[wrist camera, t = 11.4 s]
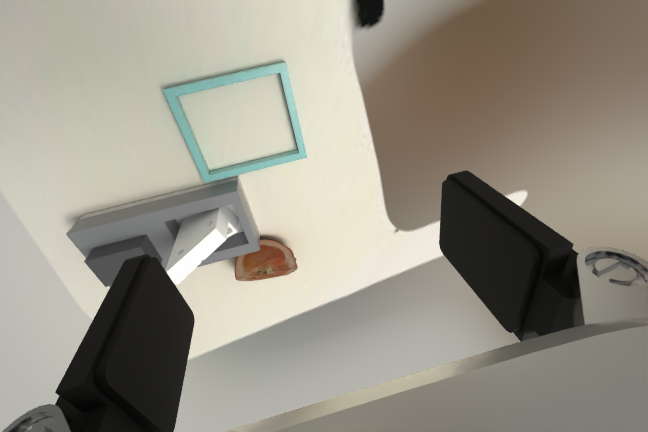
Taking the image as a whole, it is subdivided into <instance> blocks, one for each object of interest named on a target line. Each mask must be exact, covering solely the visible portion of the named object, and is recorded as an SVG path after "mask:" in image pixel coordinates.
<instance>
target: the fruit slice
mask: <svg viewBox="0 0 648 432" xmlns="http://www.w3.org/2000/svg"><path fill="white" fill-rule="evenodd" d="M295 260H296V258H295V257H294V254H293V252H292V250H291V249H290V248H288V247H287V246H285V245H283V244H282V243H280V242H277V241H273V240H267V239H265V240H260V250H259V251H256V252H252V253H248V254H244V255H241V256H237V259H236V262H235V278H236V280H239V281H254V280H262V279H267V278H273V277H278V276H284V275H288V274H290V273H292V272H294V271H295V270H296V269H297V264H296V261H295Z"/></svg>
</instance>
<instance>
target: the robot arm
mask: <svg viewBox="0 0 648 432" xmlns="http://www.w3.org/2000/svg"><path fill="white" fill-rule="evenodd" d="M441 200H442V201H441V219H440V240H439V245H440V249H441V251H442V253H443V254H444V256H445V257H446V258H447V259H448V260H449V262H450V263H451V264H452V265H453V266H454V268H455V269H456V270H457V271H458V273H460V275H461V276H462V277H463V279H464V280H465V281H466V282H467V284H468V285H469V286H470V287H471V288H472V289H473V291H474V292H475V293H476V294H477V296H478V297H479V298H480V299H481V300H482V302H483V303H484V304H485V305H486V307H487V308H488V309H489V310H490V311H491V313H492V314H493V315H494V316H495V318H496V319H497V320H498V321H499V322H500V324H501V325H502V326H503V327H504V328H505V329H506V330H507V331H508V332H510V333H512V332H513V333H514V334H515V335H516V336H517V337H518V339H519V340H520V341H521V342H519V343H515V344H512V345H508V346H504V347H501V348H498V349H495V350H491V351H488V352H484V353H481V354H478V355H474V356H471V357H468V358H464V359H461V360H458V361H454V362H451V363H448V364H444V365H441V366H438V367H434V368H431V369H428V370H424V371H421V372H418V373H414V374H411V375H408V376H404V377H401V378H398V379H395V380H391V381H388V382H385V383H382V384H378V385H375V386H372V387H369V388H365V389H362V390H359V391H355V392H352V393H349V394H345V395H342V396H339V397H336V398H332V399H329V400H326V401H323V402H319V403H316V404H313V405H309V406H306V407H303V408H300V409H296V410H293V411H290V412H287V413H284V414H280V415H277V416H274V417H271V418H267V419H264V420H261V421H258V422H255V423H251V424H248V425H245V426H242V427H238V428H235V429H232V430H229V431H226V432H648V262H647V261H646V260H644V259H642V258H640V257H639V256H637V255H635V254H632V253H629V252H626V251H624V250H620V249H615V248H610V247H592V248H588V249H585V250H582V251H581V252H580V253H579V254H578V253H577V252H576V251H574V250H573V249H572V247H573V243H571V242H570V241H568V240H567V239H565V238H564V237H563V236H561V235H560V234H558V233H557V232H555V231H554V230H553V229H551V228H550V227H548V226H547V225H545V224H544V223H542V222H541V221H539V220H538V219H536V218H535V217H534V216H532V215H531V214H529V213H528V212H527V211H525V210H524V209H522V208H521V207H519V206H518V205H517V204H515V203H514V202H512V201H511V200H509V199H508V198H506V197H505V196H503V195H502V194H501V193H499V192H498V191H496V190H495V189H493V188H492V187H490V186H489V185H488V184H486V183H485V182H483V181H482V180H481V179H479V178H478V177H476V176H475V175H473V174H472V173H470V172H469V171H462V172H458V173H454V174H451V175H448V177H447V179H446V180H445V181H444V182H443V183H442V199H441ZM193 327H194V315H193V312H192V310H191V309H190V307H189V306H188V304H187V303H186V301H185V300H184V298H183V297H182V295H181V294H180V292H179V291H178V289H177V288H176V286H175V284H174V283H173V281H172V280H171V278H170V277H169V275H168V274H167V272H166V271H165V269H164V268H163V266H162V265H161V263H160V262H159V260H158V259H157V258H156V257H151V256H149V255H148V254H144V255H141V256H137V257H133V258H129V259H126V260H125V261H124V263H123V264H122V266H121V268H120V270H119V272H118V274H117V276H116V278H115V280H114V282H113V283H112V285H111V287H110V289H109V291H108V293H107V295H106V297H105V299H104V301H103V302H102V304H101V306H100V308H99V310H98V312H97V314H96V316H95V318H94V320H93V322H92V324H91V325H90V327H89V329H88V331H87V333H86V335H85V337H84V339H83V341H82V342H81V344H80V346H79V348H78V350H77V352H76V354H75V356H74V358H73V360H72V361H71V363H70V365H69V367H68V369H67V371H66V373H65V375H64V377H63V379H62V380H61V382H60V384H59V386H58V388H57V390H56V393H57V394H58V395H59V398H58V400H57V402H56V404H55V405H52V404H47V405H43V406H39V407H37V408H34V409H32V410H30V411H28V412H27V413H25V414H24V415H22V416H21V417H19V418H18V419H16V420H15V421H14V422H12V423H11V424H10V425H9V426H8V427H7V428H6V429H4V430H3V432H173V431H174V428H175V423H176V418H177V413H178V407H179V402H180V396H181V391H182V386H183V380H184V375H185V370H186V365H187V359H188V354H189V349H190V343H191V338H192V333H193Z"/></svg>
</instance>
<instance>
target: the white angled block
mask: <svg viewBox="0 0 648 432" xmlns="http://www.w3.org/2000/svg"><path fill="white" fill-rule="evenodd" d="M238 219H239V218H238V217H237V216H236V215H235V214H234V212H233V211H232V210H231V209H230V208H229V207H228V206H224V207H220V208H216V209H212V210H208V211H204V212H201V213H197V214H193V215H190V216H188V217H187V218H185V219H183V220H182V223H181V226H180V229H179V232H178V235H177V238H176V241H175V243H174V246H173V249H172V252H171V255H170V258H169V261H168V264H167V267H166V270H165V271H166V272H167V274H168V275H169V277H170V278H171V280H172V281H173V282H174V283H175V284H176V285H178V284H179V283H180V282H181V281H182V280H183V279H184V278H185V277H186V276H187V275H189V274H190V273H191V272H192V271H193V270H194V269H195V268H196V267H197V266H198V265H199V264H200V263H201V262H202V260H205V259H206V258H207V257H208V256H209V255H210V254H211V253H212V252H214V251H215V250H216V249H217V248H218V247H219V246H220V245H221V244H222V243H223V242H224V241H225V240H226V239H227V238H228V237H230V236H232V235H233V234H235V233H237V232H238Z"/></svg>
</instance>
